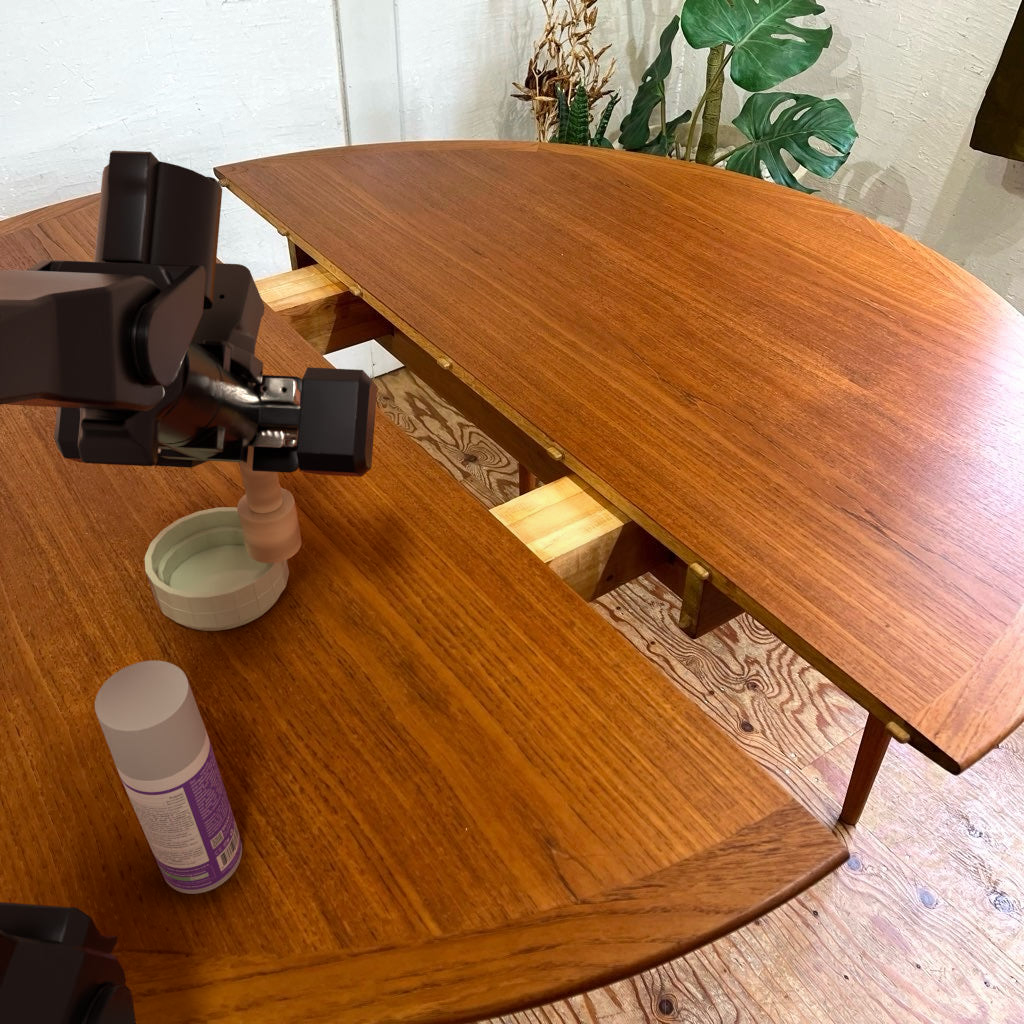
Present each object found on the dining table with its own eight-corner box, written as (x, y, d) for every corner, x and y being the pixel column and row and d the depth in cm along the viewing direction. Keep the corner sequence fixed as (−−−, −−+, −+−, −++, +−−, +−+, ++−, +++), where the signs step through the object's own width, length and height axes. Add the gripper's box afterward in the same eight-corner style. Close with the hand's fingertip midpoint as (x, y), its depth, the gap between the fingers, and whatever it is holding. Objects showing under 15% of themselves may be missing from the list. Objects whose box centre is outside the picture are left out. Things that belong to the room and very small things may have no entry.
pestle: (310, 550, 70) (270, 317, 58) (259, 571, 68) (206, 335, 56) (288, 520, 73) (245, 291, 61) (238, 540, 71) (183, 308, 59)
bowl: (249, 648, 69) (240, 610, 67) (130, 618, 72) (116, 579, 69) (312, 559, 77) (305, 521, 74) (201, 534, 79) (191, 496, 76)
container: (216, 807, 59) (161, 643, 50) (258, 857, 57) (209, 694, 47) (146, 856, 57) (74, 693, 47) (187, 910, 54) (120, 750, 45)
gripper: (355, 249, 51) (402, 331, 66) (13, 235, 52) (139, 319, 67) (339, 457, 50) (391, 491, 65) (-9, 439, 51) (124, 477, 66)
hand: (260, 439), depth 66 cm, fingers closed on pestle, 2 cm apart
